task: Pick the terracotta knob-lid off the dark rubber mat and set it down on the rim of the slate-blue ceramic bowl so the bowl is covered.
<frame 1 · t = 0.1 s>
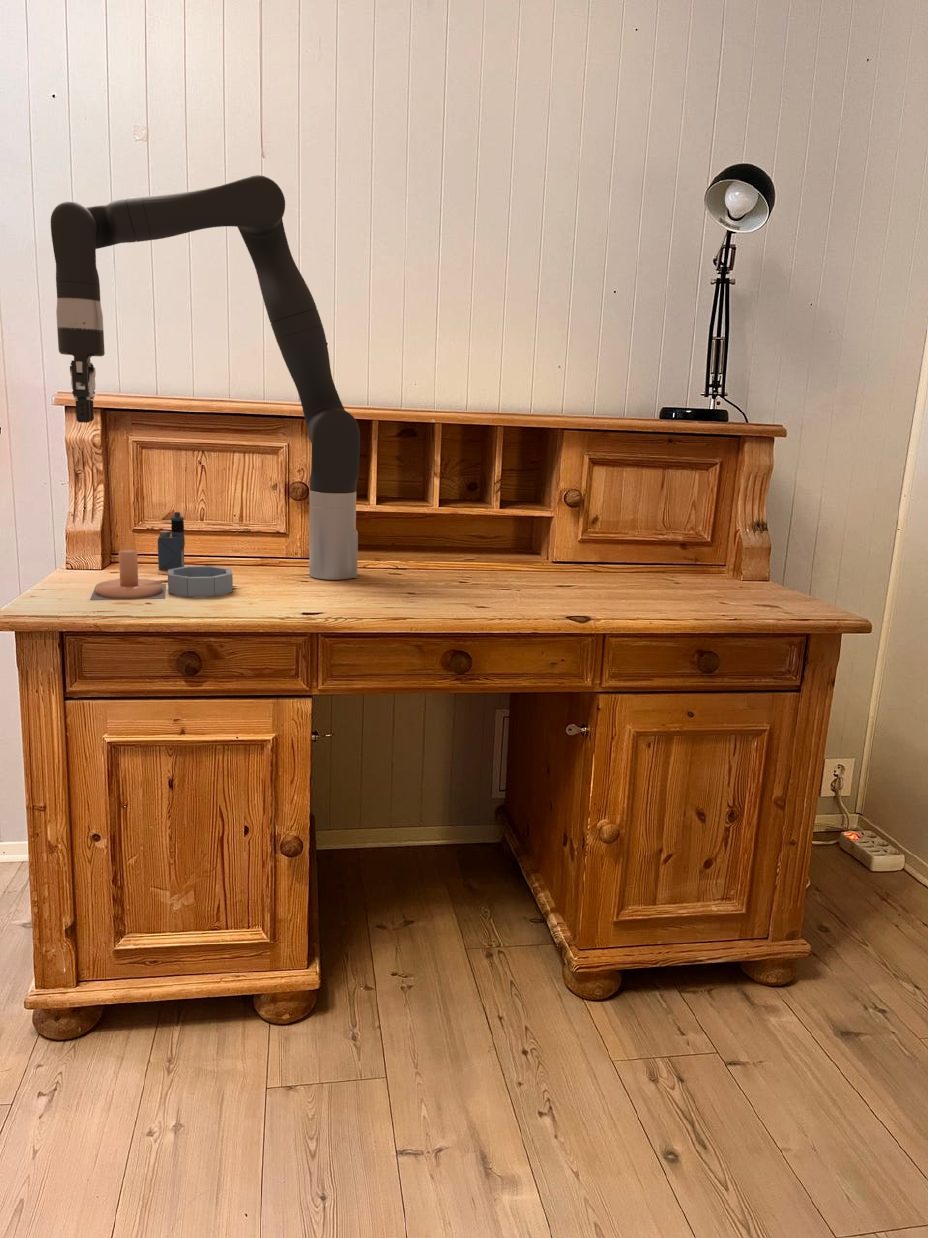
hand: (85, 421, 161), 29 cm above the table, fingers open, 8 cm apart
lid: (129, 591, 157), point 1 cm above the table, touching mat
bowl: (200, 593, 161), on the table
mat: (129, 594, 158), on the table
vaping device: (172, 573, 178), on the table
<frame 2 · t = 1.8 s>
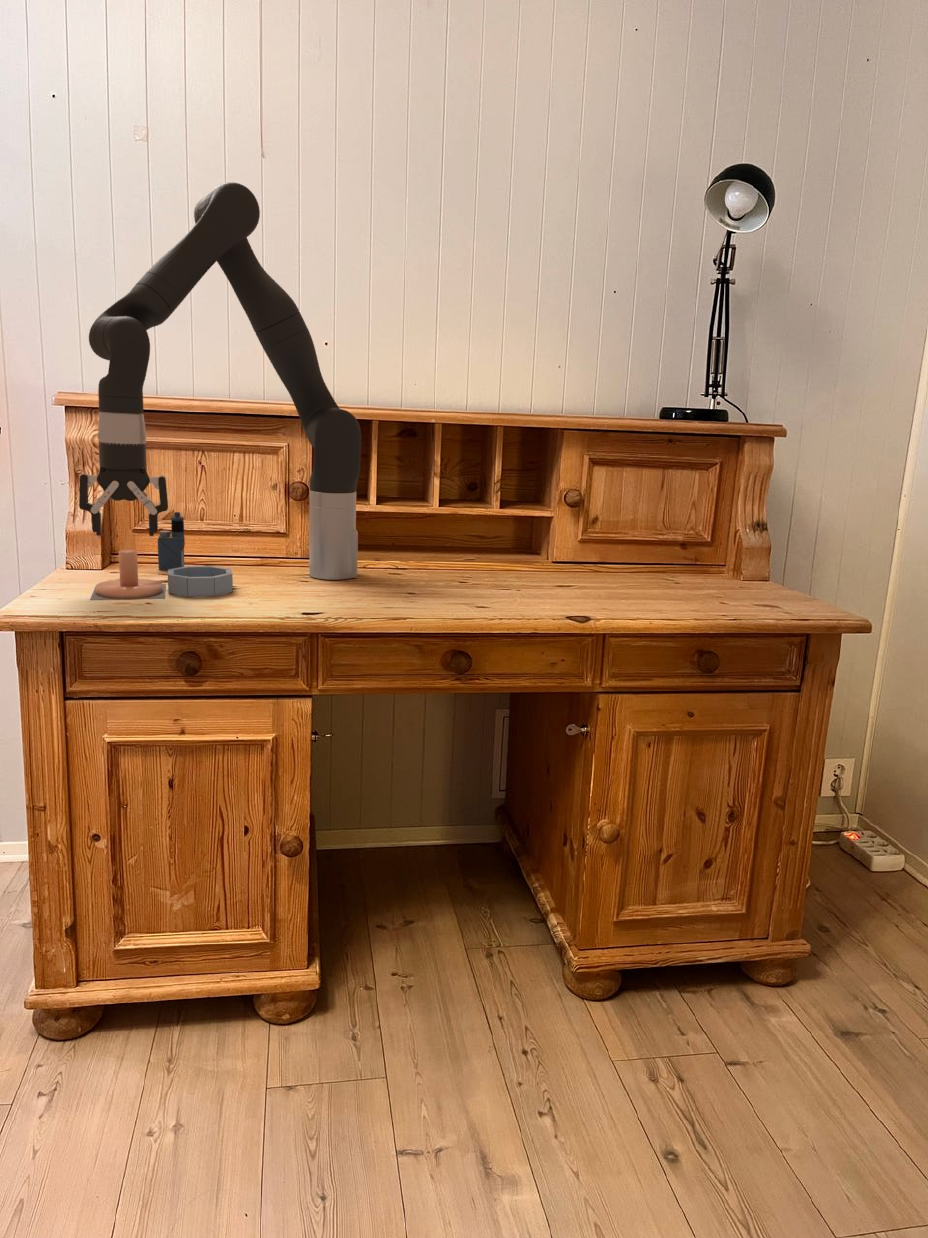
hand: (125, 535, 155), 11 cm above the table, fingers open, 8 cm apart
nothing on the table moved.
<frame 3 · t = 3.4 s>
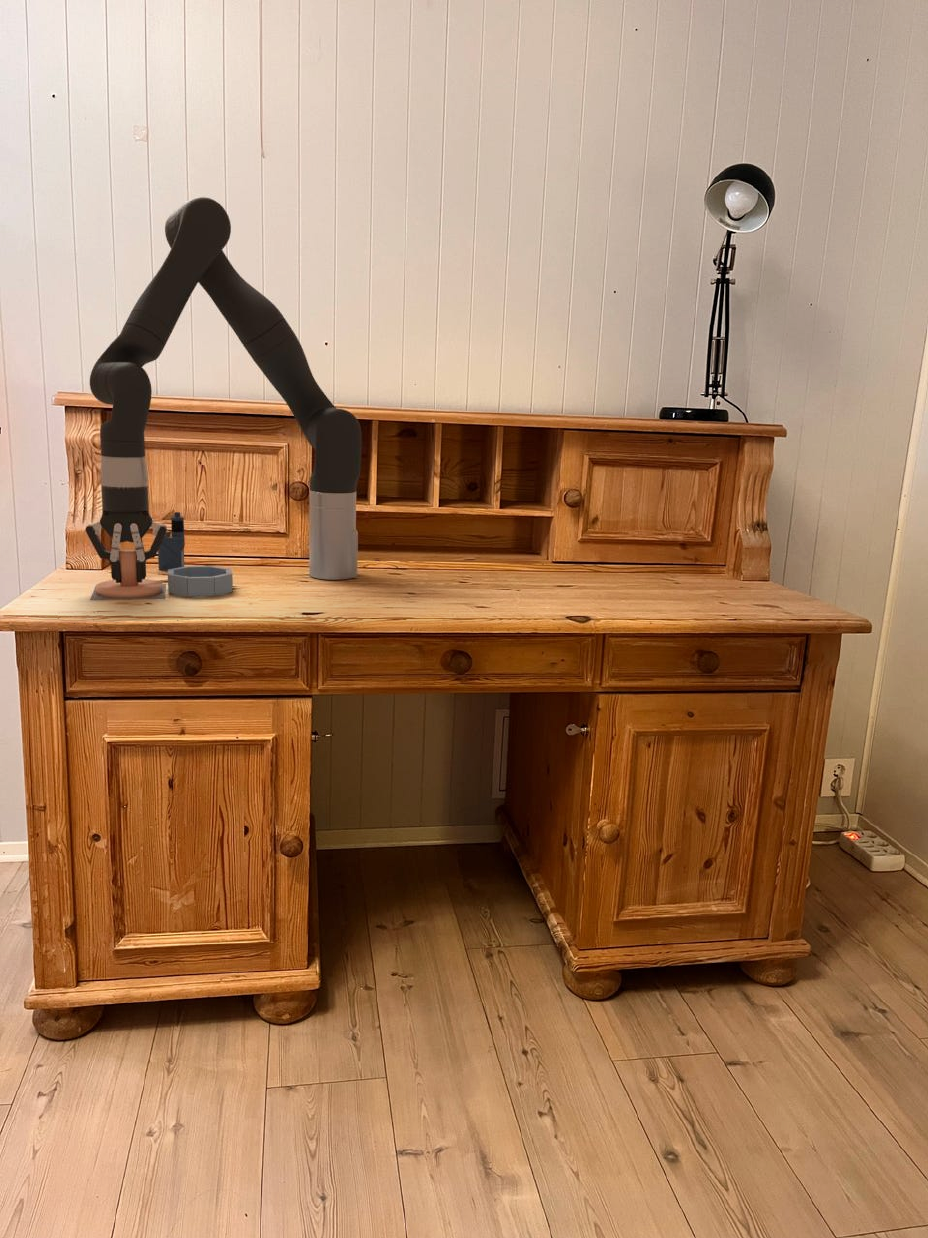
hand: (129, 581, 157), 2 cm above the table, fingers closed on lid, 3 cm apart
lid: (129, 591, 157), point 1 cm above the table, touching gripper, mat
everything else where it was.
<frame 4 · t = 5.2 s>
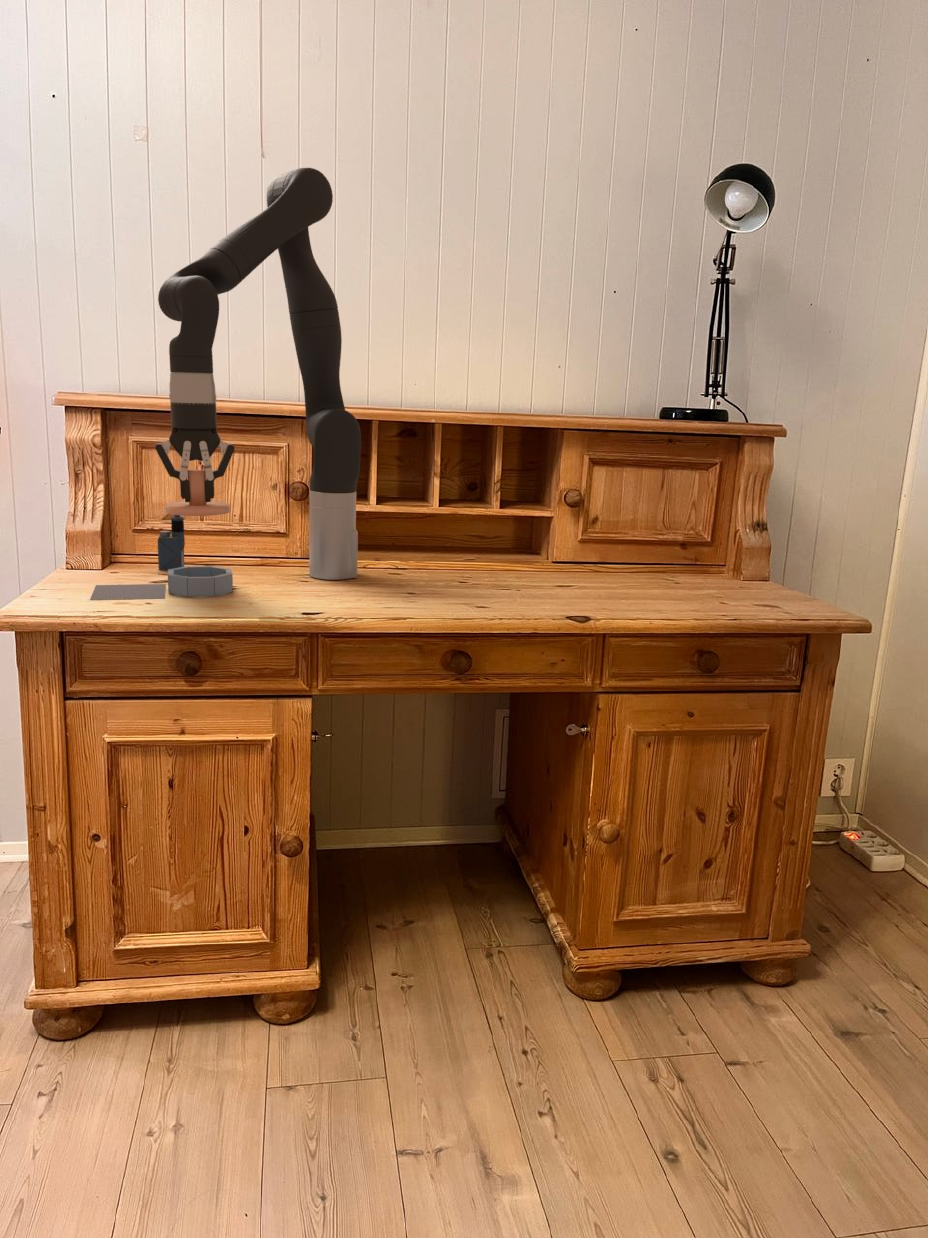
hand: (197, 501, 157), 17 cm above the table, fingers closed on lid, 3 cm apart
lid: (198, 511, 158), point 15 cm above the table, touching gripper
everything else where it was.
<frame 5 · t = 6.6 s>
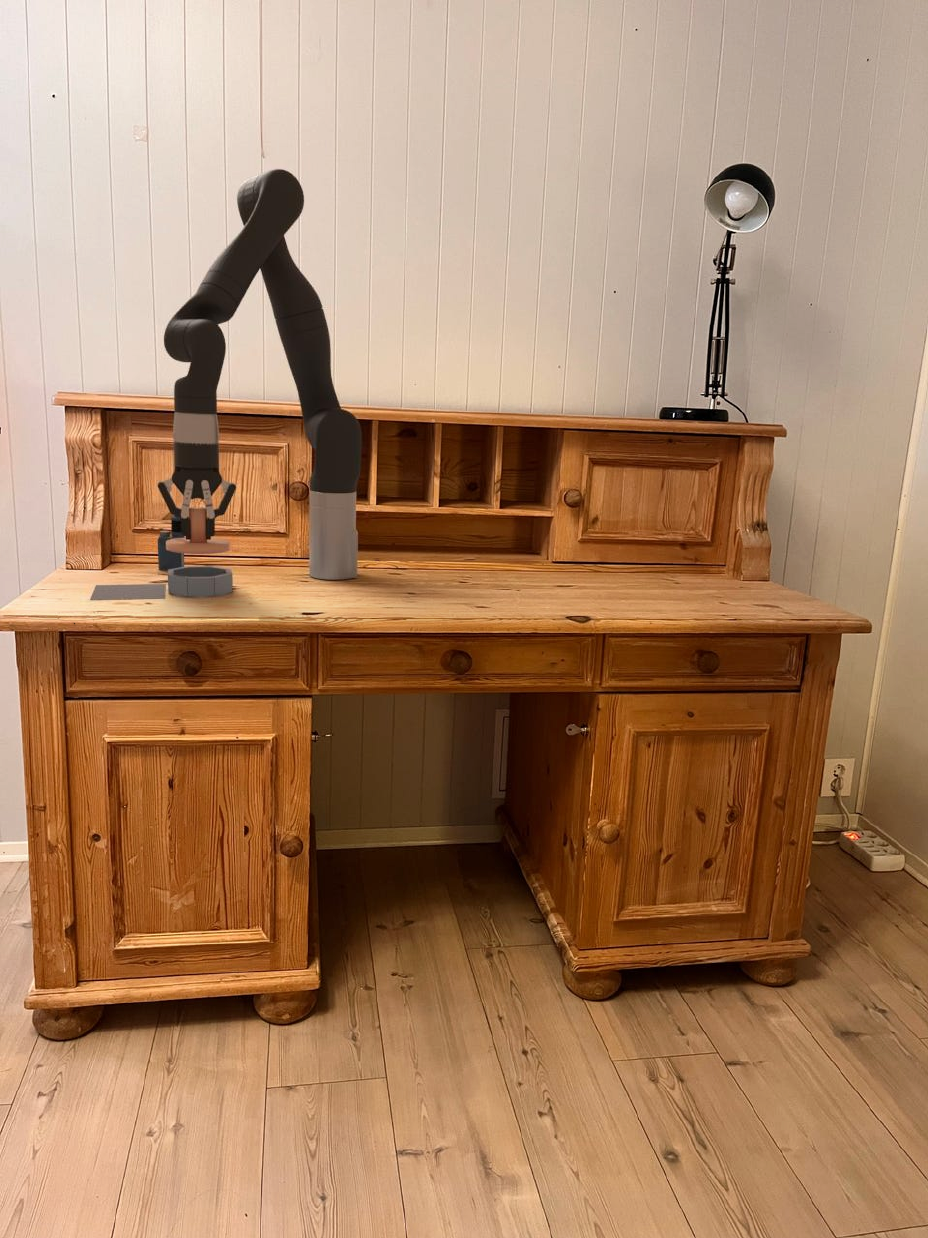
hand: (198, 538, 159), 10 cm above the table, fingers closed on lid, 3 cm apart
lid: (198, 548, 159), point 8 cm above the table, touching gripper
everything else where it was.
when the fingers open (7 cm above the table, at t = 7.4 s): lid drops 1 cm, resting on bowl.
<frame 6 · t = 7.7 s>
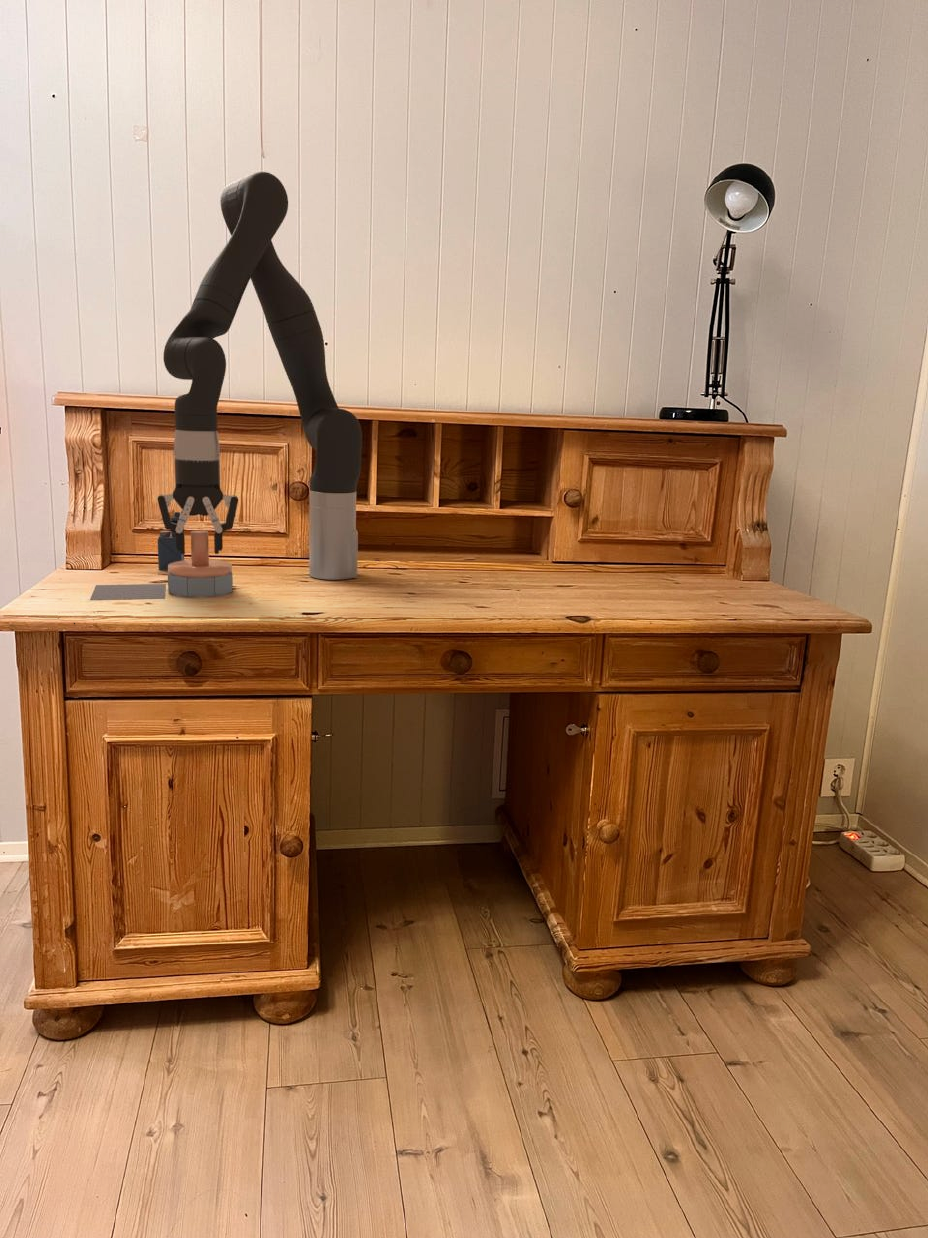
hand: (199, 552, 159), 7 cm above the table, fingers open, 5 cm apart
lid: (200, 571, 160), point 4 cm above the table, touching bowl
everything else where it was.
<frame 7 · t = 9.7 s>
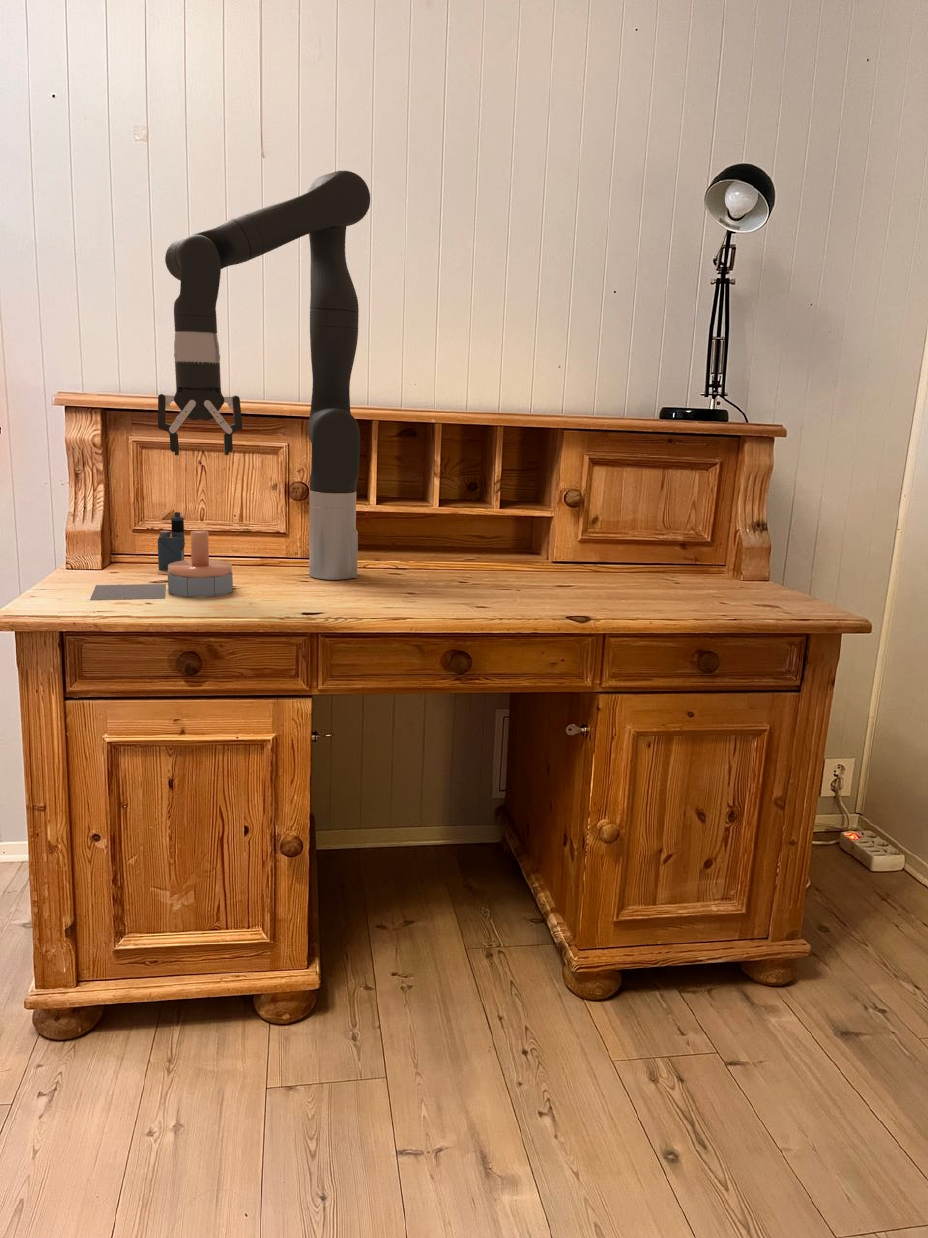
hand: (201, 455, 159), 24 cm above the table, fingers open, 8 cm apart
nothing on the table moved.
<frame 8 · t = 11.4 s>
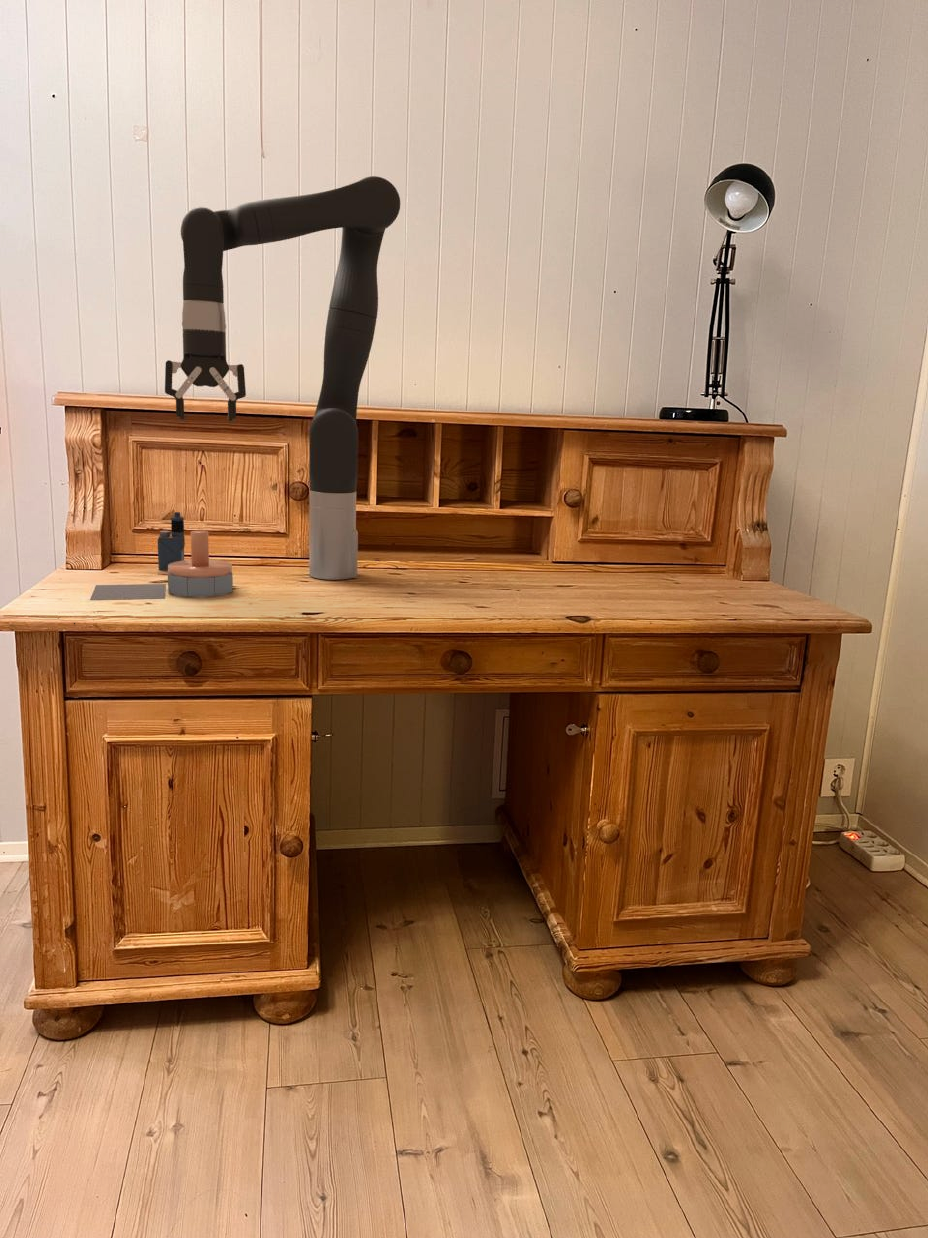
hand: (206, 420, 166), 30 cm above the table, fingers open, 8 cm apart
nothing on the table moved.
at the end: lid 0.1 cm off-centre on the bowl, point 4.0 cm above the bowl's base; lid tilted 0°; the gripper is holding nothing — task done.
